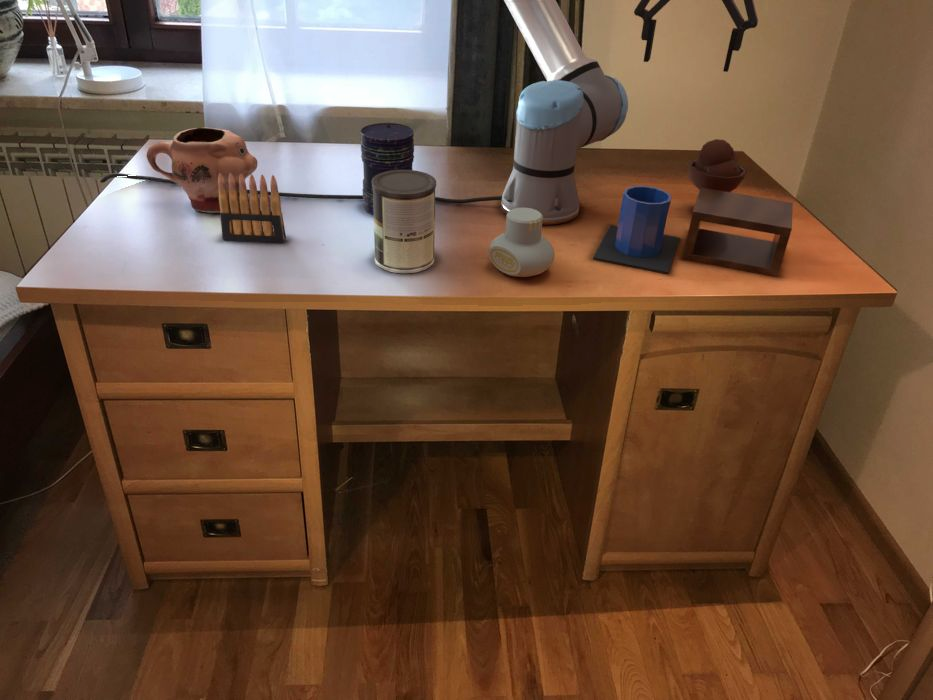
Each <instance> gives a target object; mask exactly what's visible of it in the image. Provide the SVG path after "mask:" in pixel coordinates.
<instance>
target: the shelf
mask: <svg viewBox="0 0 933 700" xmlns="http://www.w3.org/2000/svg"><path fill="white" fill-rule="evenodd" d="M698 190H699V189H698ZM793 203H794V202H791V201H786V200H779V199H773V198H767V197H763V196H762V197H761V196H755V195H750V194H744V193H743V194H742V193H737V192H732V191H731V192H725V191H719V190H713V189H707V188H700V190H699V191H698V194H697V197H696V199H695V203H694V206H693V209H692V213H691V218H690V222H689V227H688V231H687V236H686V240H685V243H684V244H685V245H684V250H683V253H682V257H681V258H682V260H686V261H692V262H697V263H702V264H708V265H714V266H718V267H723V268H729V269H734V270H739V271H744V272H750V273H755V274H761V275H765V276H771V277H776V278H778V276H779V273H780V270H781V267H782V264H783V261H784V256H785V253H786V250H787V247H788V243H789V240H790V237H791V234H792V231H793V211H794V209H793V208H794V204H793ZM702 222H704V223H708V224H709V223H710V224H715V225H721V226H727V227H731V228H732V227H733V228H736V229H737V228H738V229H743V230H749V231H755V232H761V233H766V234H770V235H771V234H772V235H773V238H772V240H767V239H760V238H756V237H749V236H745V235H739V234H733V233H727V232H722V231H716V230H710V229H705V228H701V224H702Z"/></svg>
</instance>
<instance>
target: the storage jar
mask: <svg viewBox="0 0 933 700" xmlns="http://www.w3.org/2000/svg"><path fill="white" fill-rule="evenodd" d="M414 132H415V131H414V129H413V128H412V127H410V126H408V125H406V124H402V123H395V122H380V123H379V122H377V123H371V124H368V125H365V126H363V127H362V128H361V129H360V137H361V138H360V153H361V161H362V163H363V165H362V167H363V179H362V195H363V199H362V200H363V210H364V212H366V213H367V214H369V215H371V216H374V212H373V187H372V179H373V178H374V177H375V176H376V175H378V174H380V173H383V172H386V171H391V170H413V163H414V160H415V159H414V158H415V155H414V154H415V144H414V141H415V140H414V137H415V136H414V134H415V133H414Z"/></svg>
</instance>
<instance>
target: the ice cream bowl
mask: <svg viewBox="0 0 933 700" xmlns="http://www.w3.org/2000/svg"><path fill="white" fill-rule="evenodd" d="M747 173H748V170H747V169H746V168H745V167H744V166H743V165H742V164H740V163H738V157H737V154H736V152H735V149H734V148H733V147H732V145H731V143H729V142H728V141H727V140H725V139H719V138H718V139H717V138H715V139H712V140H710V141H707V142H705V143H704V144H703V145H702V147H701V149H700V150H699V151H698V153H697V154H696V156H695V158H693V159H692V160H690V162H688V164H687V175H688V178H689V180H690V181H691V182H692V184H693V185H694V186H695V187H696V188H697V190H700V188H707V189H713V190H719V191H725V192H731V193H732V192H733V191H734V190H736V189H737V188H738V187H739V185H740V184H741V183H742V182H743V180H744V179H745V177H746V174H747Z"/></svg>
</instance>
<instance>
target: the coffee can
mask: <svg viewBox="0 0 933 700" xmlns="http://www.w3.org/2000/svg"><path fill="white" fill-rule="evenodd" d="M372 187H373V212H374V215H373V235H374V236H373V237H374V238H373V239H374V240H373V241H374V263H375V265H376V266H377V267H378V268H380V269H382V270H384V271H386V272H390V273H395V274H415V273H419V272H423V271H425V270H427V269H429V268H430V267H432V266H433V265H434V263H435V260H436V259H435V234H436V233H435V229H436V228H435V226H436V201H435V197H436V188H437V180H436V178H435V177H434V176H433V175H432V174H429V173H426V172H424V171H420V170H415V169H412V170H391V171H386V172H383V173H380V174H378V175H376V176H375V177H374V178H373V179H372Z"/></svg>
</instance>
